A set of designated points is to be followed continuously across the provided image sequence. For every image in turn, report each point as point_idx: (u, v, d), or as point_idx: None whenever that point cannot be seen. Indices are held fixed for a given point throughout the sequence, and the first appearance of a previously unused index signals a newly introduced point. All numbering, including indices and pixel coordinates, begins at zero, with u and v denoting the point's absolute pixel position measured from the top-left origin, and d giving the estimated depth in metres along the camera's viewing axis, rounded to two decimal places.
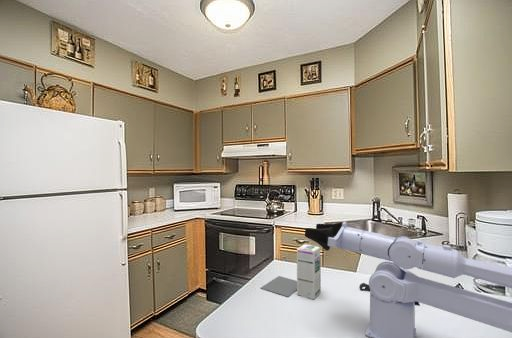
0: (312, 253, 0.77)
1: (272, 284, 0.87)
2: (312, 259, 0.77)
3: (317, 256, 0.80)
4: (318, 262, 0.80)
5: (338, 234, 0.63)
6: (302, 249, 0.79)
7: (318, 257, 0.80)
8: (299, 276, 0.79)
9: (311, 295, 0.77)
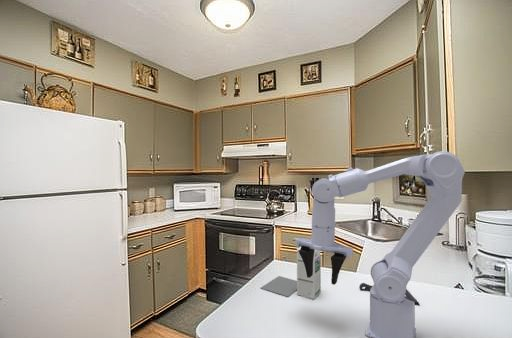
0: None
1: (272, 284, 0.87)
2: (313, 259, 0.77)
3: (317, 256, 0.80)
4: (318, 262, 0.80)
5: (338, 249, 0.62)
6: None
7: (318, 257, 0.80)
8: (299, 276, 0.79)
9: (311, 295, 0.77)
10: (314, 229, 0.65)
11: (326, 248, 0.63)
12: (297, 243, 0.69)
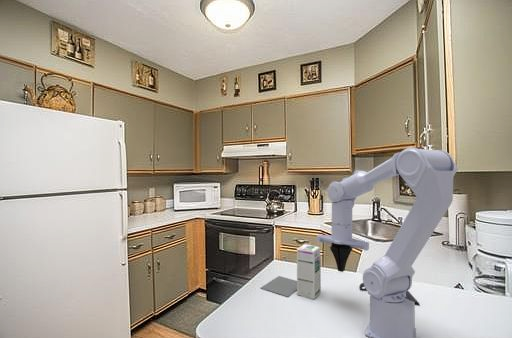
0: (312, 253, 0.77)
1: (272, 284, 0.87)
2: (313, 259, 0.77)
3: (317, 256, 0.80)
4: (318, 262, 0.80)
5: (356, 243, 0.71)
6: (302, 249, 0.79)
7: (318, 257, 0.80)
8: (299, 276, 0.79)
9: (311, 295, 0.77)
10: (334, 226, 0.74)
11: (345, 242, 0.72)
12: (318, 239, 0.78)
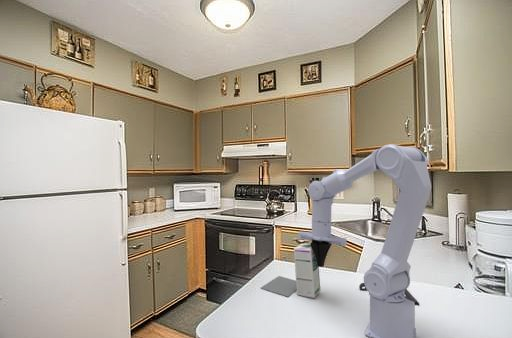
0: (309, 251, 0.78)
1: (272, 284, 0.87)
2: (310, 257, 0.78)
3: None
4: (316, 260, 0.80)
5: (334, 240, 0.75)
6: (299, 248, 0.80)
7: None
8: (297, 275, 0.80)
9: (310, 294, 0.77)
10: (314, 223, 0.77)
11: (324, 239, 0.76)
12: (300, 236, 0.82)
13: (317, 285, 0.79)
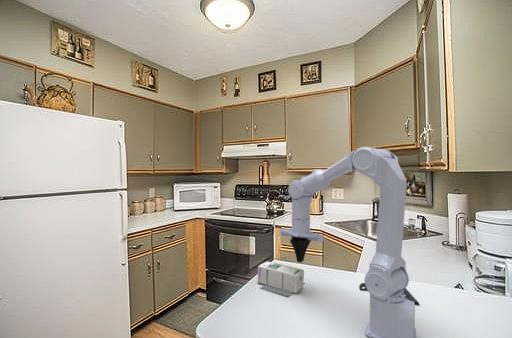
0: (259, 267, 0.87)
1: None
2: (264, 268, 0.86)
3: (268, 264, 0.89)
4: (274, 265, 0.88)
5: (312, 236, 0.79)
6: (258, 276, 0.87)
7: (271, 264, 0.89)
8: (279, 286, 0.83)
9: (294, 277, 0.80)
10: (293, 221, 0.81)
11: (302, 235, 0.79)
12: (281, 233, 0.85)
13: (293, 270, 0.84)
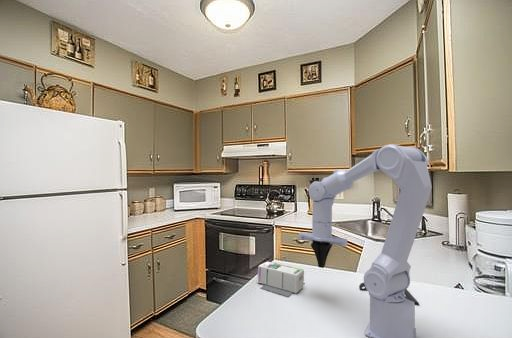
0: (260, 267, 0.87)
1: None
2: (264, 268, 0.86)
3: (268, 264, 0.89)
4: (274, 265, 0.88)
5: (335, 240, 0.75)
6: (258, 276, 0.87)
7: (271, 264, 0.89)
8: (279, 286, 0.83)
9: (294, 277, 0.80)
10: (314, 224, 0.77)
11: (325, 239, 0.75)
12: (300, 236, 0.81)
13: (293, 270, 0.84)
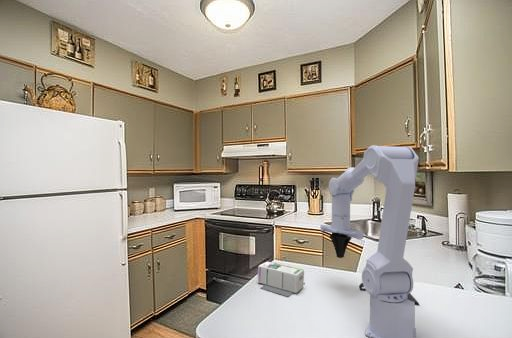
0: (260, 267, 0.87)
1: None
2: (264, 268, 0.86)
3: (268, 264, 0.89)
4: (274, 265, 0.88)
5: (350, 233, 0.80)
6: (258, 276, 0.87)
7: (271, 264, 0.89)
8: (279, 286, 0.83)
9: (294, 277, 0.80)
10: (332, 217, 0.84)
11: (341, 231, 0.81)
12: (322, 228, 0.89)
13: (293, 270, 0.84)
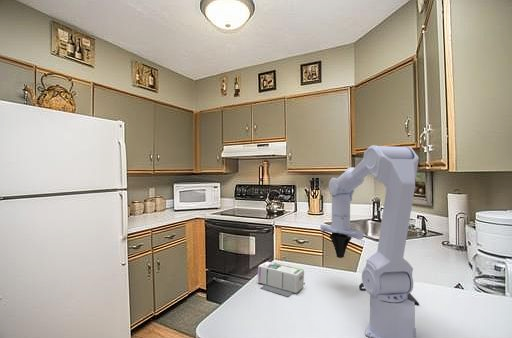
0: (260, 267, 0.87)
1: None
2: (264, 268, 0.86)
3: (268, 264, 0.89)
4: (274, 265, 0.88)
5: (350, 233, 0.80)
6: (258, 276, 0.87)
7: (271, 264, 0.89)
8: (279, 286, 0.83)
9: (294, 277, 0.80)
10: (332, 217, 0.84)
11: (341, 231, 0.81)
12: (322, 228, 0.89)
13: (293, 270, 0.84)
